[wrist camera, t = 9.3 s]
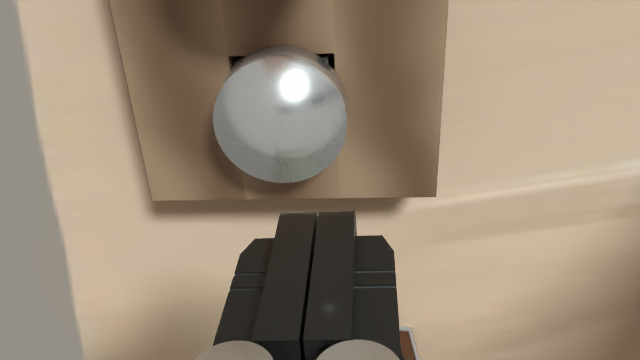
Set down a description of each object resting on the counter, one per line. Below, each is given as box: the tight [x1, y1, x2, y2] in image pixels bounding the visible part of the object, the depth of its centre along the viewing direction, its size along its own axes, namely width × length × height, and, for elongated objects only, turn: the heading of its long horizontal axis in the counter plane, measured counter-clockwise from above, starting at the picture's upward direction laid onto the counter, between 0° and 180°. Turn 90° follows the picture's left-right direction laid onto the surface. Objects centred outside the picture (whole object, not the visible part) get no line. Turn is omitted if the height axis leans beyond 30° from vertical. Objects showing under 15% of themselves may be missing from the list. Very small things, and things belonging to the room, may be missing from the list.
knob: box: [213, 45, 347, 183], centre depth 27 cm, size 6×6×5 cm
